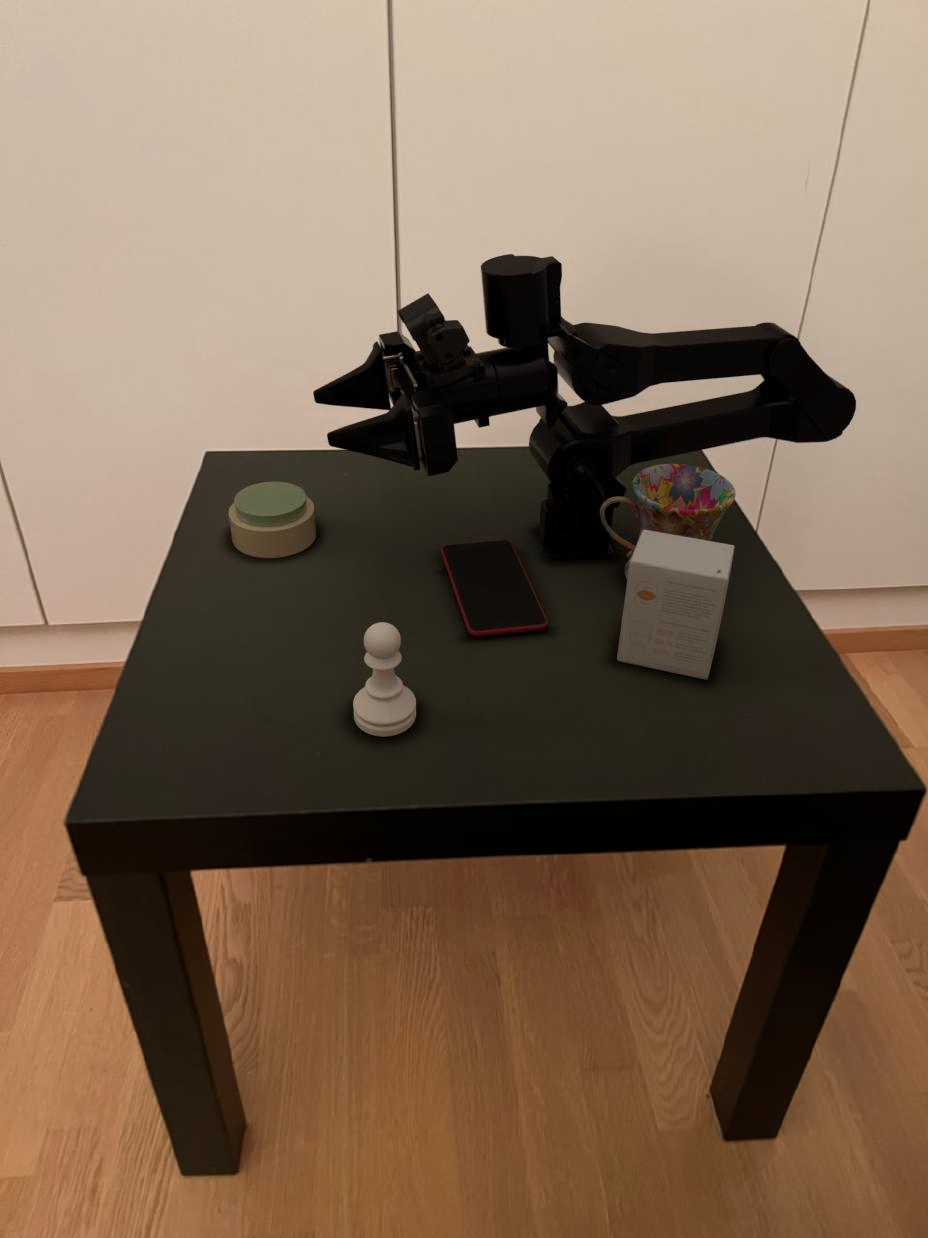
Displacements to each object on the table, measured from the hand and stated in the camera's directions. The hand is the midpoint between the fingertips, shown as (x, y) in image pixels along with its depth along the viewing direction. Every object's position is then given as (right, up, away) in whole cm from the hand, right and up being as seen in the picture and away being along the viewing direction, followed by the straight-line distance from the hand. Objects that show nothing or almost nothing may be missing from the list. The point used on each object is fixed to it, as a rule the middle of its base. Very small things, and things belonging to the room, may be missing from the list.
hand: (320, 417), depth 83 cm
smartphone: (+15, -15, +7) cm, 23 cm away
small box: (+30, -21, 0) cm, 37 cm away
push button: (-7, -9, +15) cm, 19 cm away
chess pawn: (+6, -26, -7) cm, 27 cm away
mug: (+31, -14, +9) cm, 36 cm away
